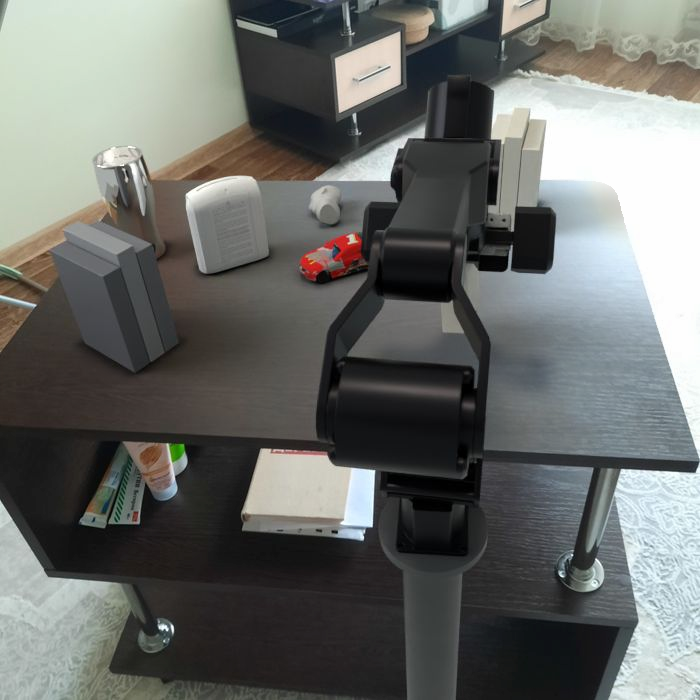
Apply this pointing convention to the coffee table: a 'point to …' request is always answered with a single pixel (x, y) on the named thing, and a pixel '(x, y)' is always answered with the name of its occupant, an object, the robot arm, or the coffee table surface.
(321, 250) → the race car
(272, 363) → the coffee table surface
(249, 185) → the photo printer
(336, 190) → the pale two-lobed sculpture
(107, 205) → the silver metal cup
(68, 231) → the grey books
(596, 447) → the coffee table surface
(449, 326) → the white book
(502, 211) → the white books
